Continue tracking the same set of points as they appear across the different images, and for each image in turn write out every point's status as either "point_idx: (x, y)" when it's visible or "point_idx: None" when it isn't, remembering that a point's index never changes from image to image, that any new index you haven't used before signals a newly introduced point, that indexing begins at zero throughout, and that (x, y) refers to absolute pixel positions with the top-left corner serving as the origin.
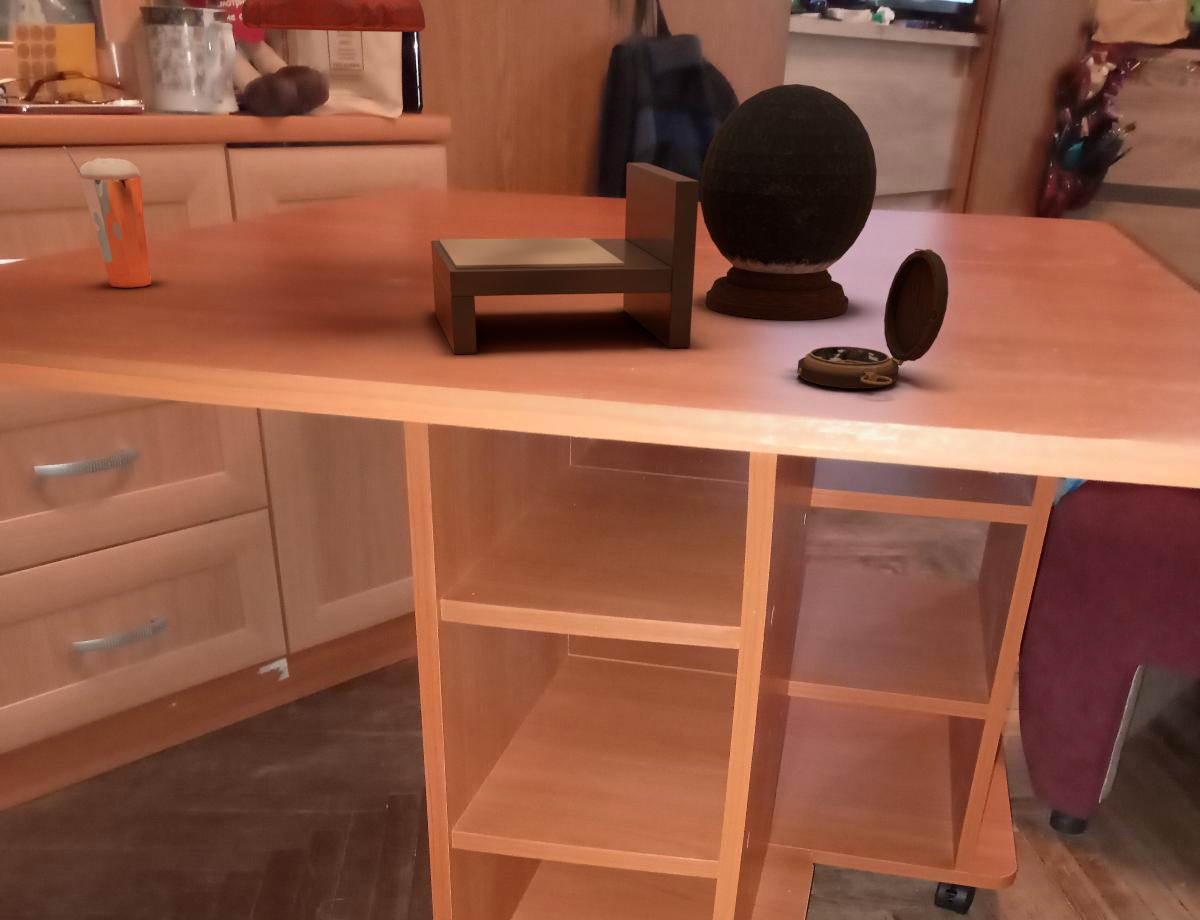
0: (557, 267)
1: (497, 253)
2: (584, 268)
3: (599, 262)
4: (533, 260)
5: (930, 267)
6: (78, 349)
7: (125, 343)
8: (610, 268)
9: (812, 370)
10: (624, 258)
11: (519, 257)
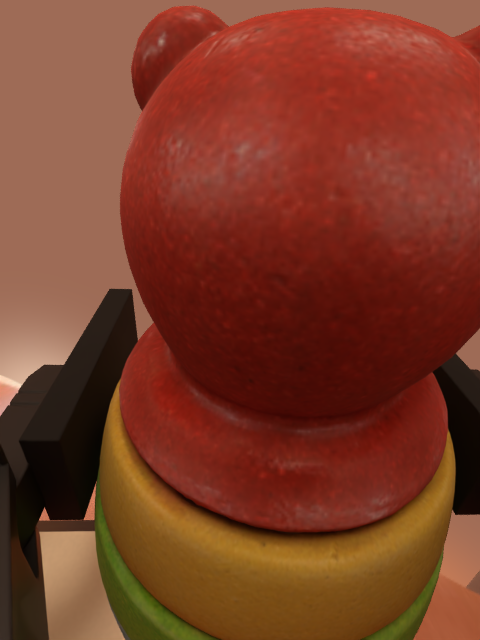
0: (84, 529)
1: (108, 604)
2: (64, 523)
3: (43, 534)
4: (94, 550)
5: None
6: (468, 609)
7: (445, 634)
8: (43, 522)
9: None
10: None
11: (98, 571)
